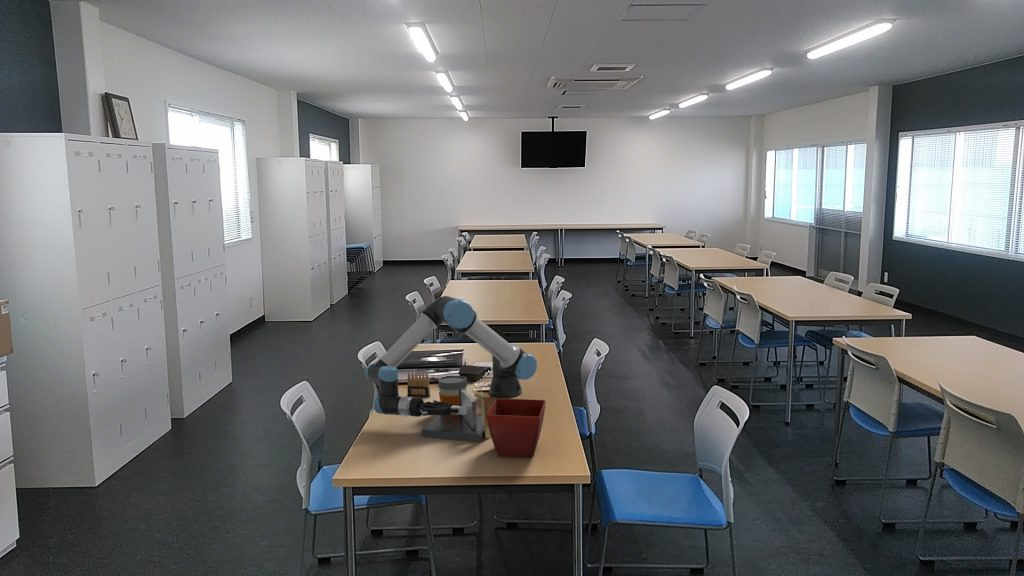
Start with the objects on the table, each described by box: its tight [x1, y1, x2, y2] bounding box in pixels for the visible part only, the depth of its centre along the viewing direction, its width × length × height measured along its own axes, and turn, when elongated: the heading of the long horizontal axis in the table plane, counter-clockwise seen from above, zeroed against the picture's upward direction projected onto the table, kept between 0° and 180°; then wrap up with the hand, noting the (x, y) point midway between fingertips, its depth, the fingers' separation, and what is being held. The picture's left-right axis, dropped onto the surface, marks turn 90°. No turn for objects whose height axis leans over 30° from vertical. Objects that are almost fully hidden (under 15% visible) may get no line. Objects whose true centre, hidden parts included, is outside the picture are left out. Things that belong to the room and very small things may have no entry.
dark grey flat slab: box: [421, 414, 485, 443], centre depth 277 cm, size 20×24×3 cm
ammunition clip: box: [406, 371, 431, 399], centre depth 323 cm, size 11×2×12 cm, turn 77°
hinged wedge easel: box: [459, 388, 477, 429], centre depth 277 cm, size 20×3×11 cm, turn 19°
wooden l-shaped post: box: [474, 391, 492, 440], centre depth 270 cm, size 3×7×16 cm, turn 30°
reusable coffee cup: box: [437, 376, 468, 415], centre depth 298 cm, size 12×13×15 cm
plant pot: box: [486, 398, 546, 459], centre depth 253 cm, size 19×19×17 cm
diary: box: [432, 364, 492, 383], centre depth 356 cm, size 19×25×5 cm
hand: (467, 410), depth 272 cm, fingers closed
